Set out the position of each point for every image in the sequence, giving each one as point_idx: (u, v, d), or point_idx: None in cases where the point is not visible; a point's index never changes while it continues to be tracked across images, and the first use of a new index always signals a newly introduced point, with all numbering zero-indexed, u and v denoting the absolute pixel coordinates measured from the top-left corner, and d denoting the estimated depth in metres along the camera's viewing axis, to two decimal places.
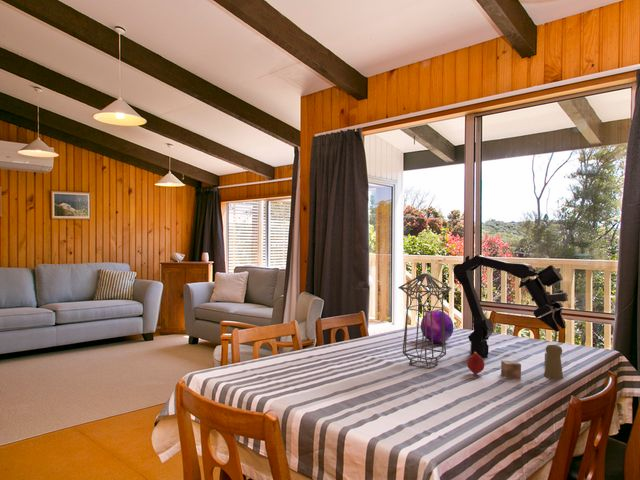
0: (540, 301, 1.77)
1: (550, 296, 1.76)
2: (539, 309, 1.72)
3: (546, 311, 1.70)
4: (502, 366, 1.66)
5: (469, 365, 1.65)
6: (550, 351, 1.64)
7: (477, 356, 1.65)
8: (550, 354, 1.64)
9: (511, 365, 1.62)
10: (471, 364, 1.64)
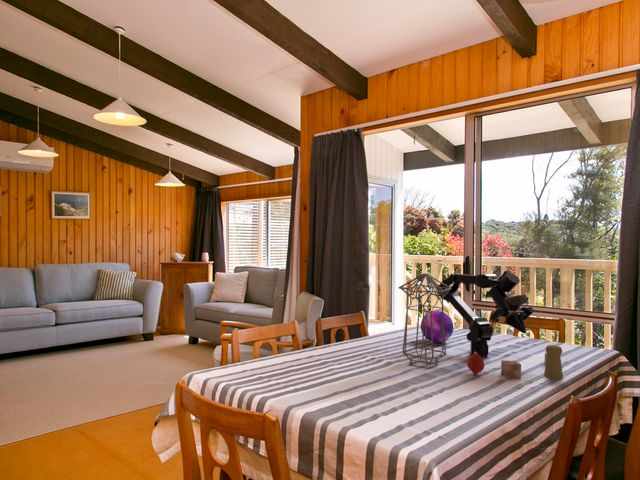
0: (501, 307, 1.82)
1: (508, 300, 1.80)
2: (493, 313, 1.77)
3: (498, 314, 1.75)
4: (502, 366, 1.66)
5: (469, 365, 1.65)
6: (550, 351, 1.64)
7: (477, 356, 1.65)
8: (550, 354, 1.64)
9: (511, 365, 1.62)
10: (471, 364, 1.64)
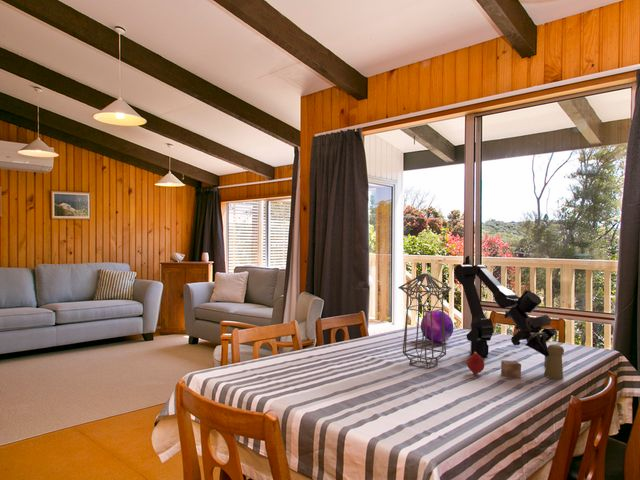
0: (522, 328, 1.73)
1: (529, 322, 1.71)
2: (514, 336, 1.69)
3: (520, 337, 1.66)
4: (502, 366, 1.66)
5: (469, 365, 1.65)
6: (552, 351, 1.63)
7: (477, 356, 1.65)
8: (552, 354, 1.64)
9: (511, 365, 1.62)
10: (471, 364, 1.64)
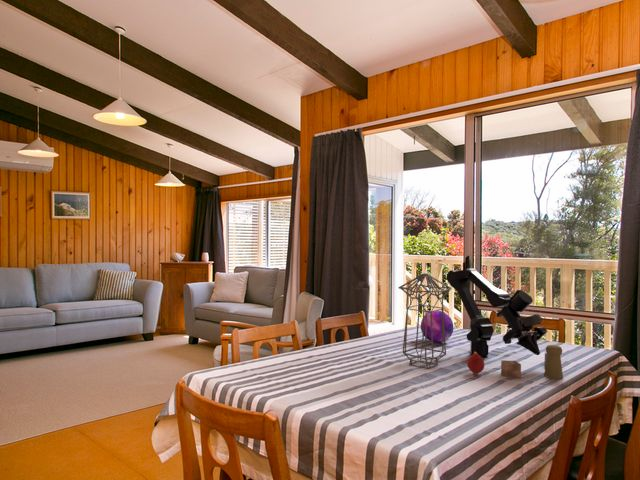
0: (514, 327, 1.76)
1: (521, 321, 1.74)
2: (506, 334, 1.72)
3: (511, 335, 1.70)
4: (502, 366, 1.66)
5: (469, 365, 1.65)
6: (550, 351, 1.64)
7: (477, 356, 1.65)
8: (550, 354, 1.64)
9: (511, 365, 1.62)
10: (471, 364, 1.64)
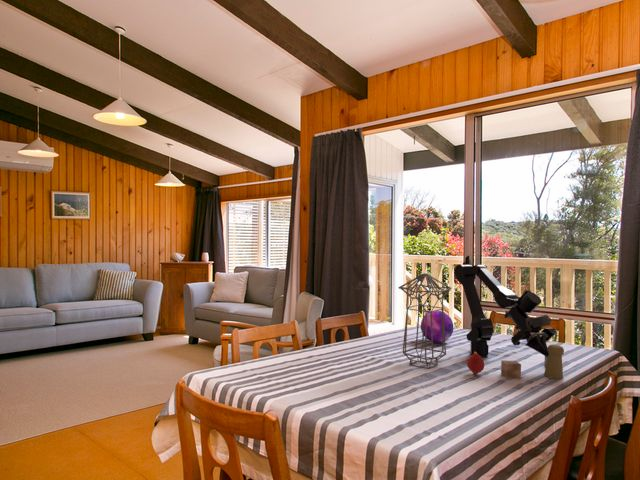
0: (522, 328, 1.73)
1: (529, 322, 1.71)
2: (514, 336, 1.69)
3: (520, 337, 1.66)
4: (502, 366, 1.66)
5: (469, 365, 1.65)
6: (552, 351, 1.63)
7: (477, 356, 1.65)
8: (552, 354, 1.64)
9: (511, 365, 1.62)
10: (471, 364, 1.64)
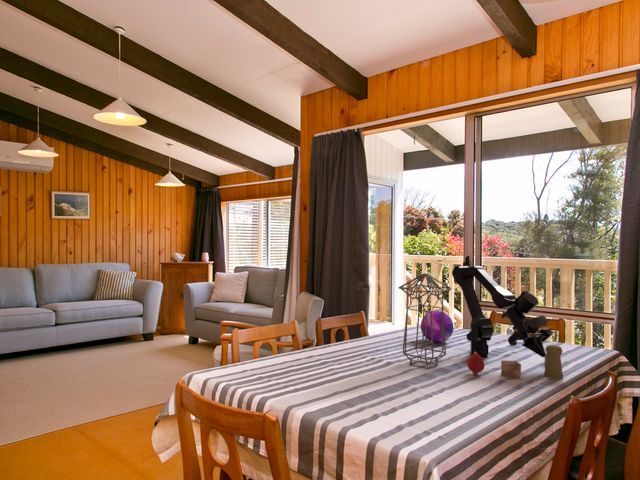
0: (519, 329, 1.74)
1: (526, 322, 1.72)
2: (511, 336, 1.70)
3: (516, 337, 1.68)
4: (502, 366, 1.66)
5: (469, 365, 1.65)
6: (550, 351, 1.64)
7: (477, 356, 1.65)
8: (550, 354, 1.64)
9: (511, 365, 1.62)
10: (471, 364, 1.64)
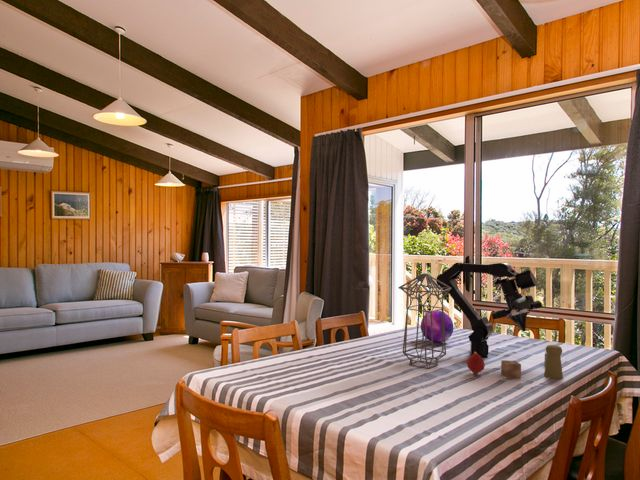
0: (507, 303, 1.87)
1: (512, 301, 1.83)
2: (494, 313, 1.86)
3: (497, 317, 1.84)
4: (502, 366, 1.66)
5: (469, 365, 1.65)
6: (550, 351, 1.64)
7: (477, 356, 1.65)
8: (550, 354, 1.64)
9: (511, 365, 1.62)
10: (471, 364, 1.64)
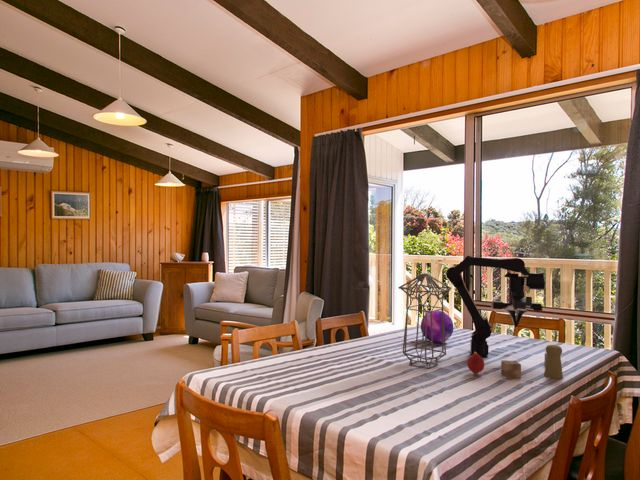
0: None
1: (512, 297, 1.87)
2: (492, 302, 1.93)
3: (492, 307, 1.91)
4: (502, 366, 1.66)
5: (469, 365, 1.65)
6: (550, 351, 1.64)
7: (477, 356, 1.65)
8: (550, 354, 1.64)
9: (511, 365, 1.62)
10: (471, 364, 1.64)
